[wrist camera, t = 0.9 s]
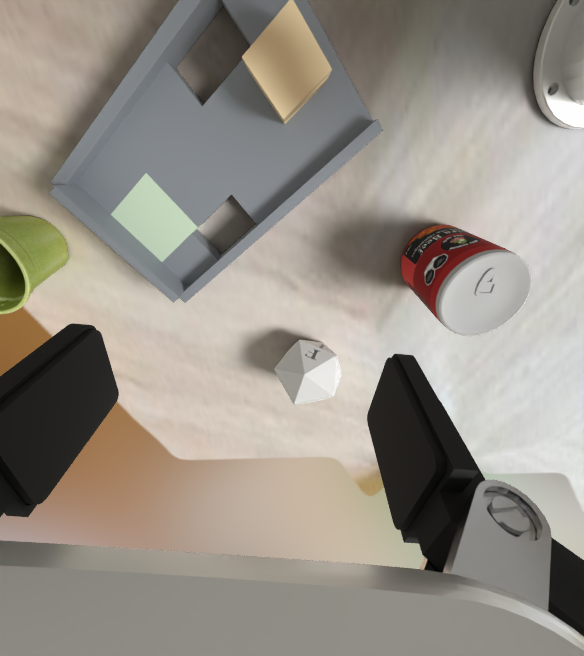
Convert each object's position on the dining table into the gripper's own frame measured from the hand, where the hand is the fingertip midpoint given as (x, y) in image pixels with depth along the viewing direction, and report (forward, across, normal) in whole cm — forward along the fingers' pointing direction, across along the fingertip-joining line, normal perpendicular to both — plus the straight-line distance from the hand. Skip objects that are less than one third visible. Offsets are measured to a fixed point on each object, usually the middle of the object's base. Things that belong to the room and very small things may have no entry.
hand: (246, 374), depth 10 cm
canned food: (+26, -18, +2) cm, 32 cm away
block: (+24, 0, -12) cm, 27 cm away
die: (+26, -5, +18) cm, 32 cm away
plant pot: (+26, +27, +5) cm, 38 cm away
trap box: (+26, +7, -5) cm, 27 cm away
